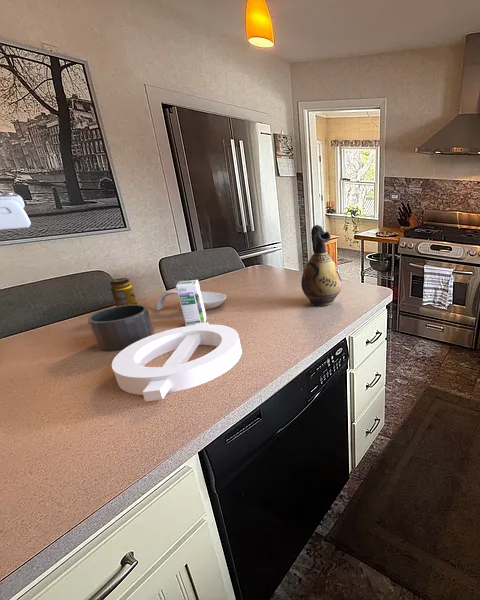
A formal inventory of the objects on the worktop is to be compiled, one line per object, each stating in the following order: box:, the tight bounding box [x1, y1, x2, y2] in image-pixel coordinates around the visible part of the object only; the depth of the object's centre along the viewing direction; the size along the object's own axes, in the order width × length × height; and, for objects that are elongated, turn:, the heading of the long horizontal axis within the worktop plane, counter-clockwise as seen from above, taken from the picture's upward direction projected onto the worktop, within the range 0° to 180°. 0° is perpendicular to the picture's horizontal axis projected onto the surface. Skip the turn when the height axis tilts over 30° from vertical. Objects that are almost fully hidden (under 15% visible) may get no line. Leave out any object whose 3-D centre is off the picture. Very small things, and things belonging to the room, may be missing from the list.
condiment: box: [109, 277, 139, 307], centre depth 118 cm, size 7×8×12 cm
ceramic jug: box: [300, 224, 343, 307], centre depth 125 cm, size 17×15×30 cm
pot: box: [87, 304, 155, 352], centre depth 98 cm, size 14×14×9 cm
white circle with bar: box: [111, 321, 243, 402], centre depth 87 cm, size 28×28×5 cm
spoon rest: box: [155, 288, 227, 311], centre depth 122 cm, size 24×12×7 cm, turn 100°
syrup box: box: [175, 279, 207, 326], centre depth 109 cm, size 6×6×14 cm
